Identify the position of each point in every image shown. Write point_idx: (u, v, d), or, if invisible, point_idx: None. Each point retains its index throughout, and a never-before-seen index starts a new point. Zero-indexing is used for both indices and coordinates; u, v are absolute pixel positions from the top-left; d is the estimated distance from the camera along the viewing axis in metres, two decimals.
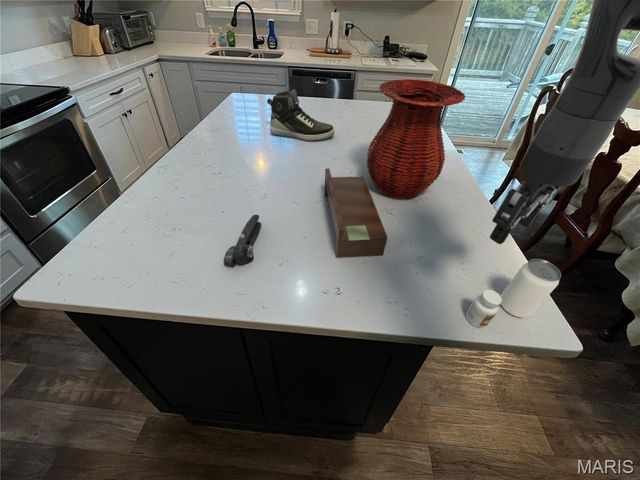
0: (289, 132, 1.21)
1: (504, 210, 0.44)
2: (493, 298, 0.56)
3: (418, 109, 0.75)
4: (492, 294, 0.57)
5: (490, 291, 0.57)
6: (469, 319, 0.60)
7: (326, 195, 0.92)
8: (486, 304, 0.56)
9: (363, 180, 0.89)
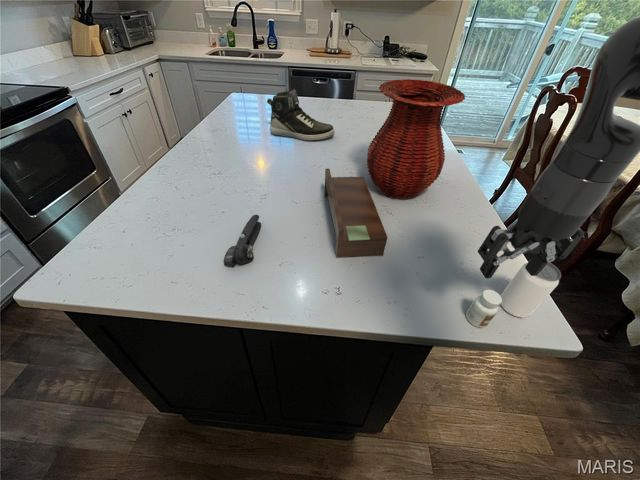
0: (289, 132, 1.22)
1: (486, 244, 0.46)
2: (493, 298, 0.56)
3: (418, 109, 0.75)
4: (492, 294, 0.57)
5: (490, 291, 0.57)
6: (469, 319, 0.60)
7: (326, 195, 0.92)
8: (486, 304, 0.56)
9: (363, 180, 0.89)
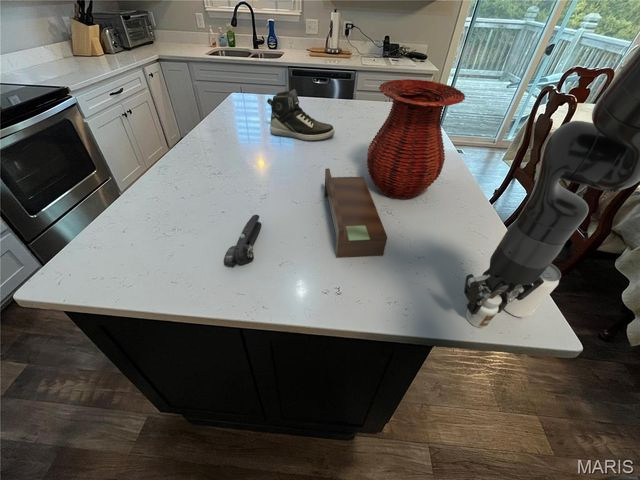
0: (289, 132, 1.22)
1: (466, 288, 0.54)
2: (493, 298, 0.56)
3: (418, 109, 0.75)
4: None
5: None
6: (469, 319, 0.60)
7: (326, 195, 0.92)
8: (486, 304, 0.56)
9: (363, 180, 0.89)
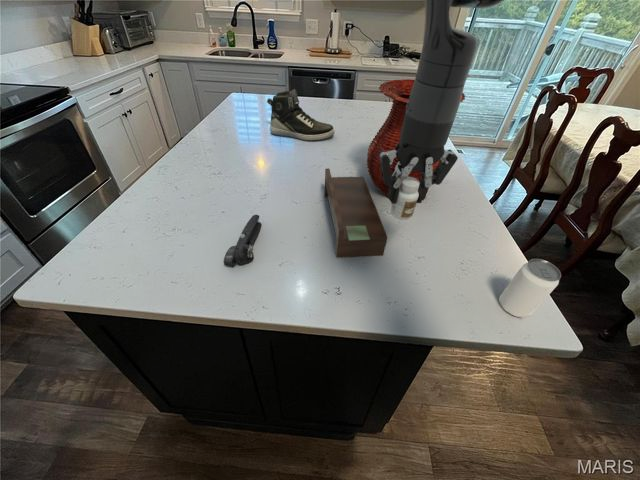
0: (289, 132, 1.22)
1: (381, 168, 0.53)
2: (411, 182, 0.55)
3: None
4: (411, 179, 0.55)
5: (409, 177, 0.56)
6: (392, 212, 0.59)
7: (326, 195, 0.92)
8: (404, 188, 0.55)
9: (363, 180, 0.89)
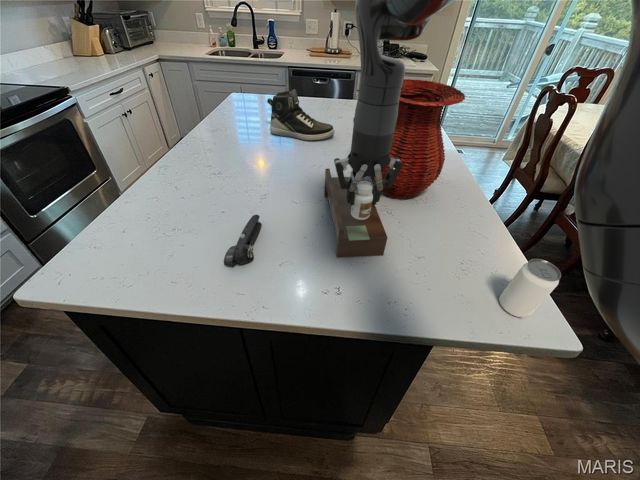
0: (289, 132, 1.22)
1: (337, 174, 0.60)
2: (365, 186, 0.61)
3: (418, 109, 0.75)
4: (366, 184, 0.62)
5: (364, 181, 0.63)
6: (351, 213, 0.66)
7: (326, 195, 0.92)
8: (358, 191, 0.61)
9: (363, 180, 0.89)
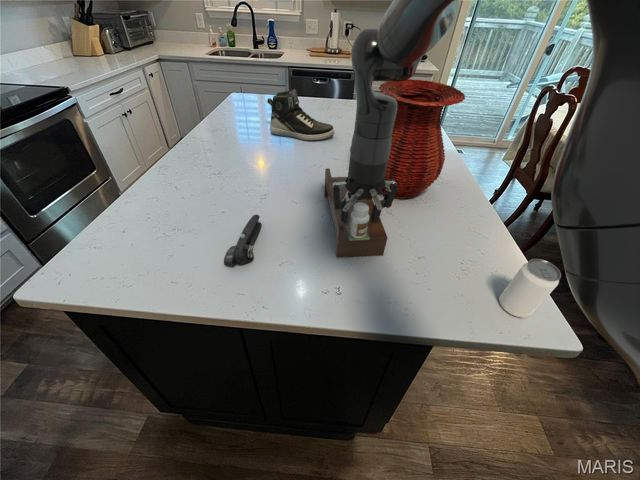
0: (289, 132, 1.22)
1: (333, 195, 0.63)
2: (361, 207, 0.65)
3: (418, 109, 0.75)
4: (362, 205, 0.66)
5: (361, 203, 0.66)
6: (349, 231, 0.70)
7: (326, 195, 0.92)
8: (355, 213, 0.65)
9: None
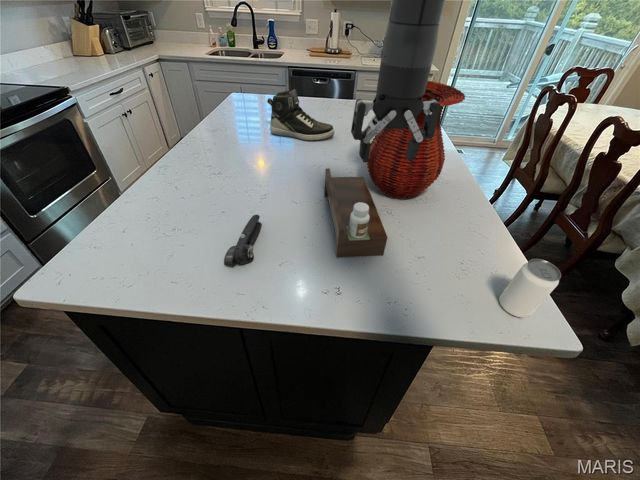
0: (289, 132, 1.22)
1: (353, 119, 0.50)
2: (361, 207, 0.65)
3: None
4: (362, 205, 0.66)
5: (361, 203, 0.66)
6: (349, 231, 0.70)
7: (326, 195, 0.92)
8: (355, 213, 0.65)
9: (363, 180, 0.89)
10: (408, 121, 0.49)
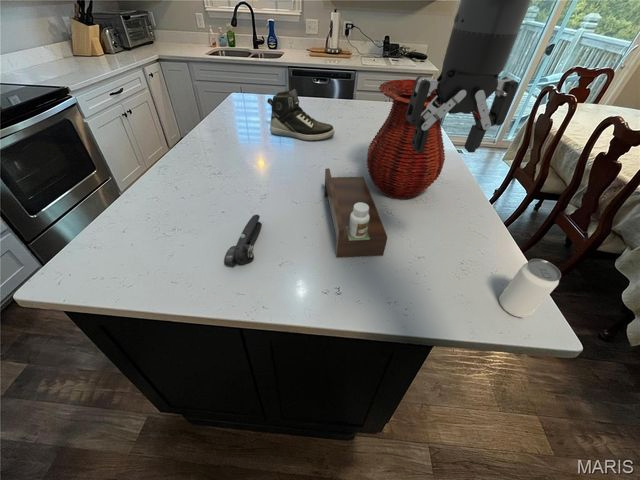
0: (289, 132, 1.22)
1: (411, 101, 0.42)
2: (361, 207, 0.65)
3: None
4: (362, 205, 0.66)
5: (361, 203, 0.66)
6: (349, 231, 0.70)
7: (326, 195, 0.92)
8: (355, 213, 0.65)
9: (363, 180, 0.89)
10: (478, 103, 0.41)
